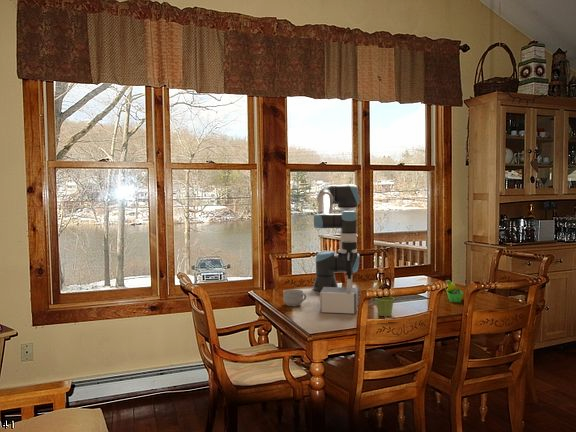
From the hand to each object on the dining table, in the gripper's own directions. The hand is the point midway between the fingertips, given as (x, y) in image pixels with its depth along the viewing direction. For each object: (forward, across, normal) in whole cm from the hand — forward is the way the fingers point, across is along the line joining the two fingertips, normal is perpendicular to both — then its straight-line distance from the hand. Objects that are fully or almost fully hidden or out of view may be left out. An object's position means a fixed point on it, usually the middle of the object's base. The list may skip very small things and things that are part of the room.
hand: (349, 287), depth 235 cm
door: (+12, -6, +6) cm, 14 cm away
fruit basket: (+12, +33, -54) cm, 64 cm away
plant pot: (+12, -5, -18) cm, 22 cm away
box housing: (+12, +2, +6) cm, 13 cm away
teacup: (+12, +6, +30) cm, 33 cm away
